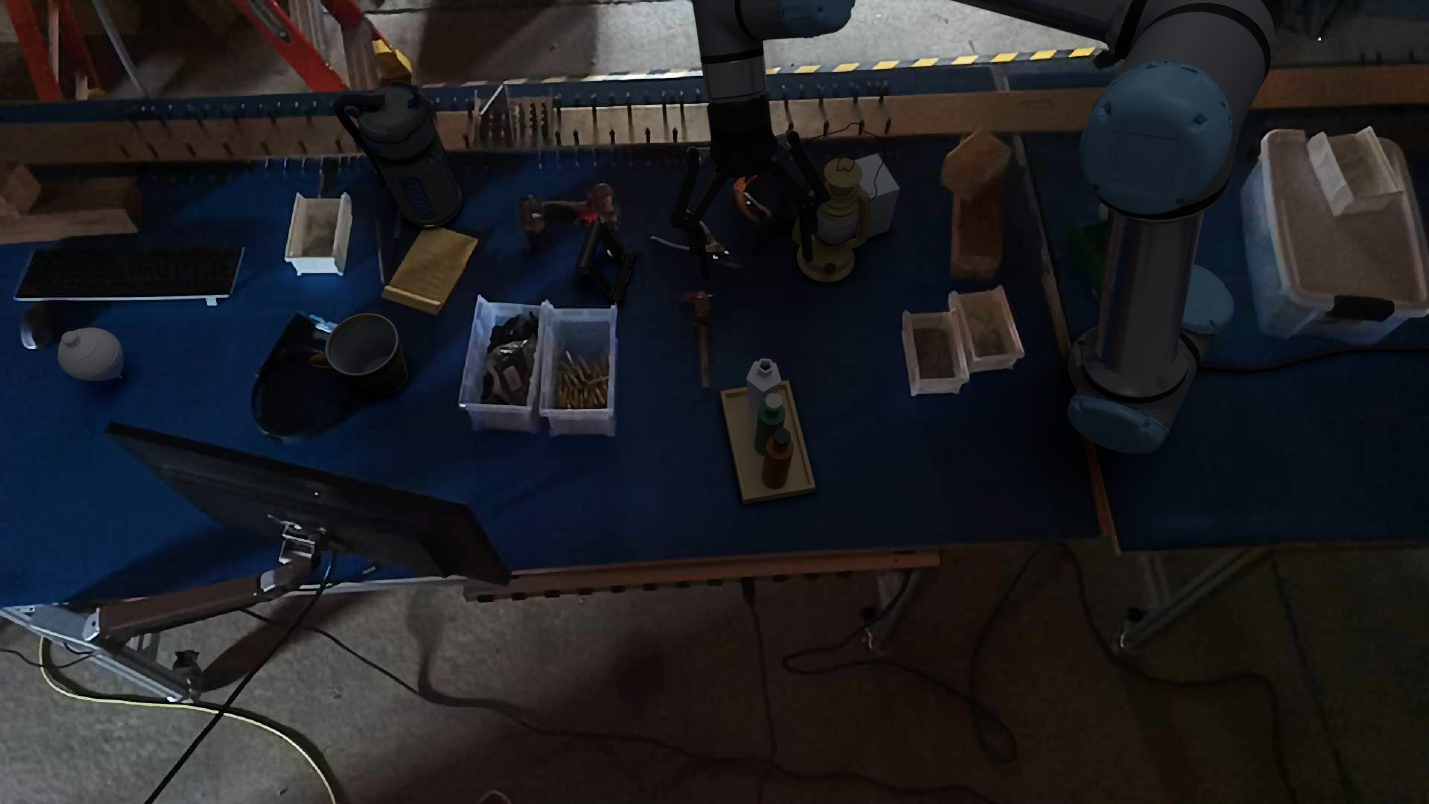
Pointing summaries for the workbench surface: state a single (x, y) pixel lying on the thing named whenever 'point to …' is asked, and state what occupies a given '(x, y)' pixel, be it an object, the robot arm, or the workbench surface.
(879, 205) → the small box
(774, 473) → the amber bottle
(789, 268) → the workbench surface
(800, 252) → the lantern
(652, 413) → the workbench surface
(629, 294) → the workbench surface
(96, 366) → the spinning top
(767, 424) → the green bottle
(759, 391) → the perfume bottle
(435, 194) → the beverage bottle
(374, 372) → the ceramic cup
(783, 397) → the tray
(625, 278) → the tablet stand
